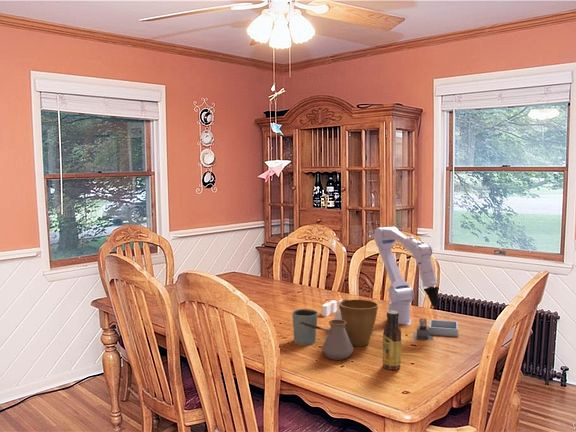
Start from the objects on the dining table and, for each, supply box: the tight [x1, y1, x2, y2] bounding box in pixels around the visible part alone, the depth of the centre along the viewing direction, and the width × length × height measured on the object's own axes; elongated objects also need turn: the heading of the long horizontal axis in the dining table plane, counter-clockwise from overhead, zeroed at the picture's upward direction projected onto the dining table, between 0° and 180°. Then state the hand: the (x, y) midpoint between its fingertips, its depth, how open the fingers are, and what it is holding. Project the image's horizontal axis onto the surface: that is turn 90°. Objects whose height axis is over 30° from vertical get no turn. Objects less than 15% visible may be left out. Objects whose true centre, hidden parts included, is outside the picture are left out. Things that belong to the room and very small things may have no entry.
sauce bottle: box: [382, 310, 402, 371], centre depth 181 cm, size 7×6×20 cm
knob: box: [416, 317, 429, 339], centre depth 213 cm, size 5×5×7 cm
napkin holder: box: [321, 299, 338, 317], centre depth 251 cm, size 15×11×6 cm
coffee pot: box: [298, 319, 354, 361], centre depth 191 cm, size 21×12×15 cm, turn 114°
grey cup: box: [291, 308, 319, 346], centre depth 210 cm, size 10×10×12 cm
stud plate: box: [411, 332, 434, 341], centre depth 213 cm, size 8×8×3 cm
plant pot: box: [340, 299, 379, 347], centre depth 207 cm, size 15×15×16 cm
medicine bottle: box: [334, 298, 348, 320], centre depth 228 cm, size 7×7×12 cm
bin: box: [428, 319, 459, 337], centre depth 219 cm, size 11×11×4 cm
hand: (435, 305), depth 213 cm, fingers open, 7 cm apart
